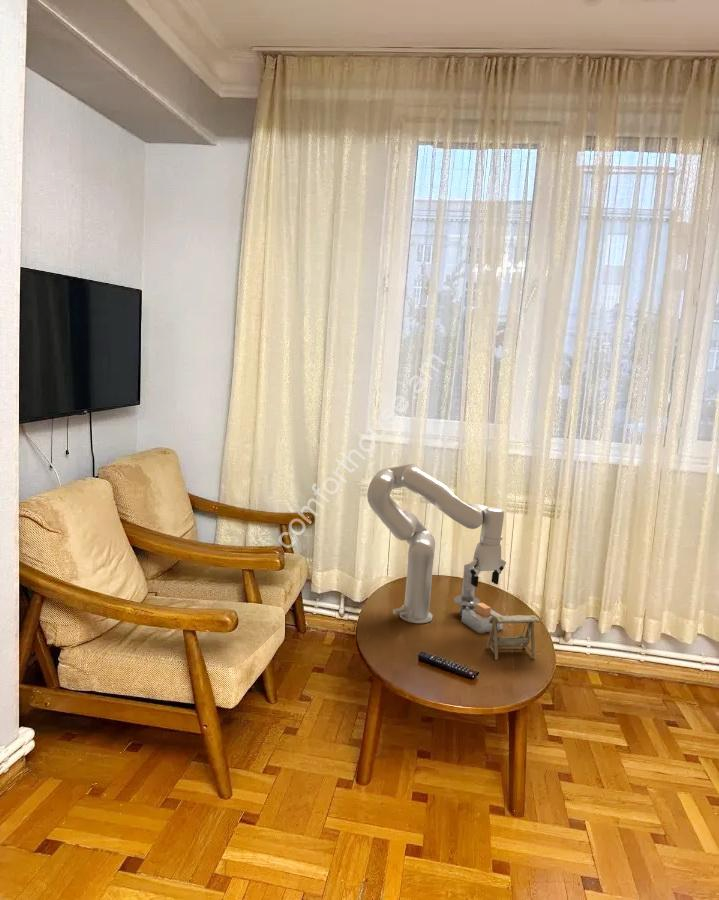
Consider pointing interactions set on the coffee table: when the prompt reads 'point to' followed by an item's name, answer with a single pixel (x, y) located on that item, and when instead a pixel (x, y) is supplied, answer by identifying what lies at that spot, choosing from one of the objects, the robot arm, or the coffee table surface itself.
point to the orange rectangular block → (483, 610)
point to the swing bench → (512, 640)
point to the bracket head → (473, 607)
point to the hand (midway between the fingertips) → (484, 584)
